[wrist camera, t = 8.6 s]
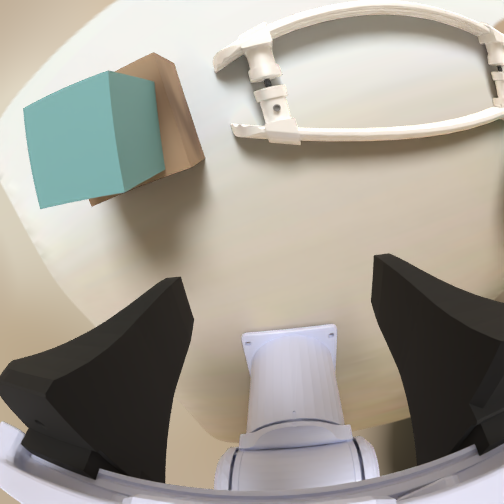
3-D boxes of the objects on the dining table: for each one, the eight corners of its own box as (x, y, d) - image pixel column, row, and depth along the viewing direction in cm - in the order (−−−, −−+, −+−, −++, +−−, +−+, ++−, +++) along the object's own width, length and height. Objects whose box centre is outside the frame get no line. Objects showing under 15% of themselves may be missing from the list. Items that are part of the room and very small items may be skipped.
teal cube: (165, 169, 15) (124, 192, 11) (91, 182, 16) (40, 208, 11) (154, 81, 13) (108, 70, 8) (79, 104, 13) (23, 108, 9)
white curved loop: (521, 127, 15) (244, 168, 19) (498, 23, 11) (204, 34, 15) (541, 132, 13) (240, 176, 16) (516, 19, 9) (195, 22, 12)
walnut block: (206, 157, 19) (191, 167, 15) (119, 190, 20) (91, 206, 16) (175, 64, 16) (153, 52, 12) (90, 105, 17) (58, 107, 13)
